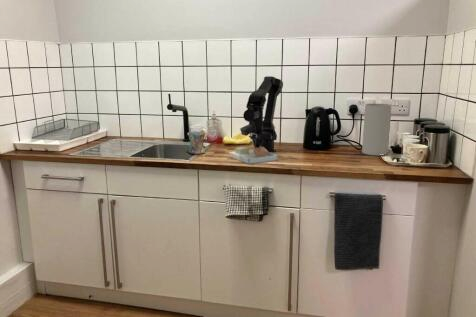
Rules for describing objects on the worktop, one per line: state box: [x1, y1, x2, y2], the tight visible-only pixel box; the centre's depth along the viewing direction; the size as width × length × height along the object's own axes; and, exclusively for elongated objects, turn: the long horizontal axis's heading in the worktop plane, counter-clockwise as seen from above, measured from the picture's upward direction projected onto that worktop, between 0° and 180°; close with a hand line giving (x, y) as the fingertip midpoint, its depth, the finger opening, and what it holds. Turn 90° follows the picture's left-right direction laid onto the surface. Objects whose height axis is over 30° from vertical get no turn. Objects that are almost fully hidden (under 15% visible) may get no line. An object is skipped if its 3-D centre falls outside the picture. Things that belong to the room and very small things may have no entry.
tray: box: [238, 152, 279, 165], centre depth 191 cm, size 16×9×2 cm, turn 118°
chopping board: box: [228, 148, 258, 161], centre depth 200 cm, size 16×11×2 cm
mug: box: [187, 131, 206, 155], centre depth 206 cm, size 12×9×11 cm
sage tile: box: [234, 146, 250, 155], centre depth 198 cm, size 5×5×2 cm
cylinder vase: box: [361, 103, 393, 157], centre depth 203 cm, size 12×12×25 cm
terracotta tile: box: [253, 147, 268, 157], centre depth 196 cm, size 5×5×2 cm
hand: (256, 150), depth 199 cm, fingers closed
